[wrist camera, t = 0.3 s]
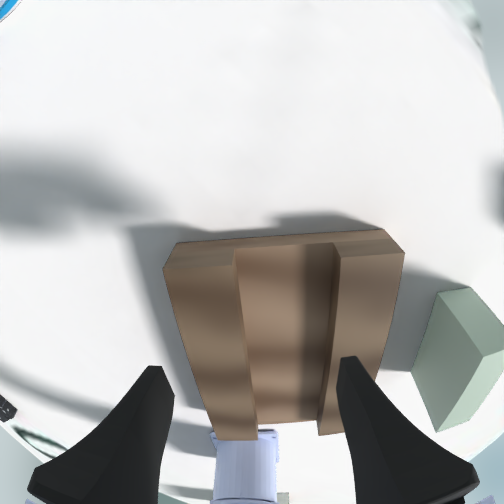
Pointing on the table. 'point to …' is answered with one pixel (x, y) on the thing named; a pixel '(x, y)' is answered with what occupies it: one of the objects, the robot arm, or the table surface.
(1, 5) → the beverage bottle
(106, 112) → the table surface
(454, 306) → the pale green block
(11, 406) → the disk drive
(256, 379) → the slot stand
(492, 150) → the table surface
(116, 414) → the robot arm
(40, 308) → the table surface
